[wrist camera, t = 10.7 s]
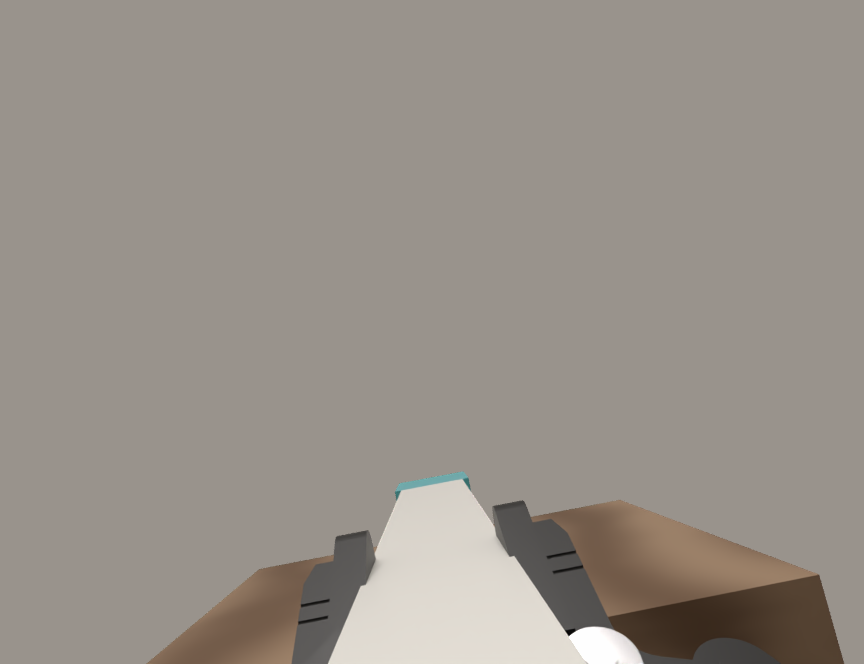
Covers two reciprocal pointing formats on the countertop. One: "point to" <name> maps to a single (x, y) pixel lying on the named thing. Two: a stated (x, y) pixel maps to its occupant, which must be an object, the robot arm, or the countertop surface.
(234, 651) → the pedestal
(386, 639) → the teal-tipped white stick
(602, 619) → the robot arm
